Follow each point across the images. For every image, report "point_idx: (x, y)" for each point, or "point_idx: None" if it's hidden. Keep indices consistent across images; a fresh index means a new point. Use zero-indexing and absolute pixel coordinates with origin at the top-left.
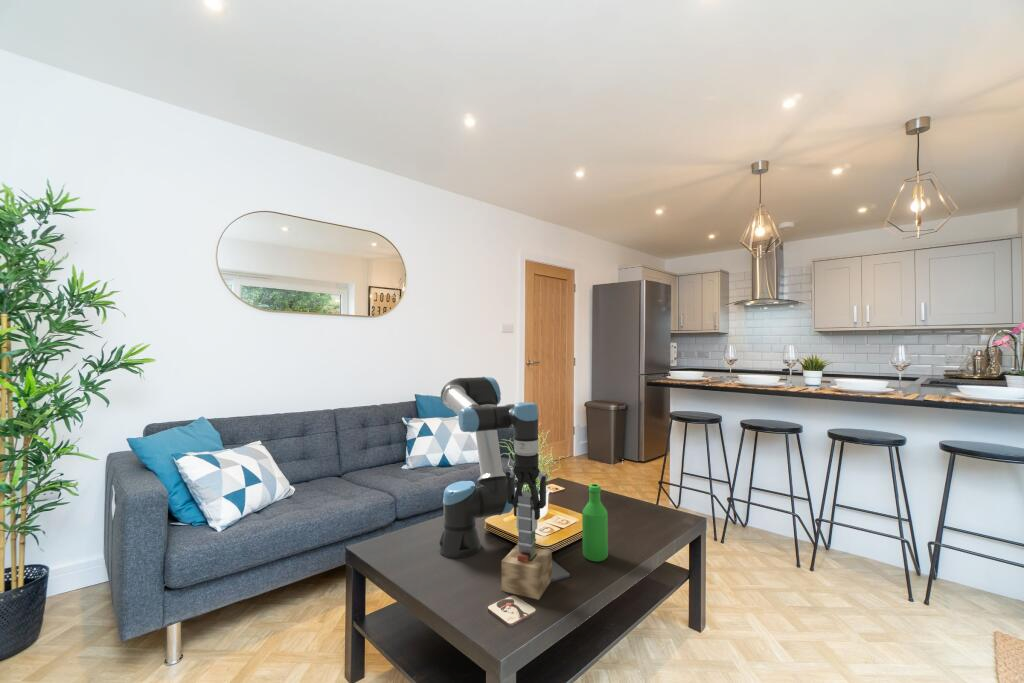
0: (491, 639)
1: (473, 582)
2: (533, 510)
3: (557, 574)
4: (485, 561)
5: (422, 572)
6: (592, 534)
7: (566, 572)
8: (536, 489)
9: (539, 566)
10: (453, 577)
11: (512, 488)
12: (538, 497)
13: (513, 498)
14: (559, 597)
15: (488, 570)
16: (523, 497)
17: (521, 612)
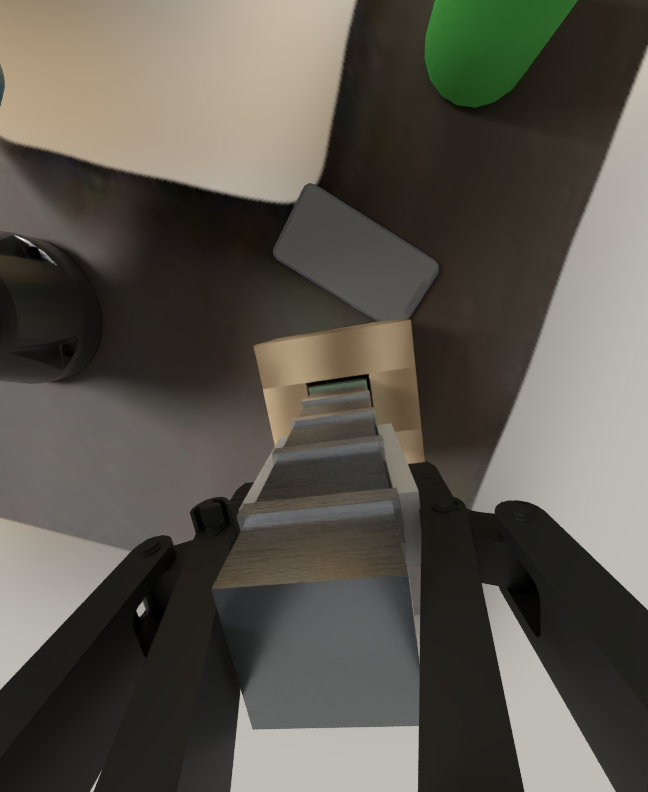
0: None
1: (213, 448)
2: (419, 560)
3: (401, 290)
4: (159, 336)
5: (76, 475)
6: (547, 5)
7: (423, 260)
8: (508, 736)
9: (421, 452)
10: (154, 454)
11: (69, 752)
12: (480, 583)
13: (159, 572)
14: (452, 391)
15: (203, 376)
16: (328, 715)
17: None
